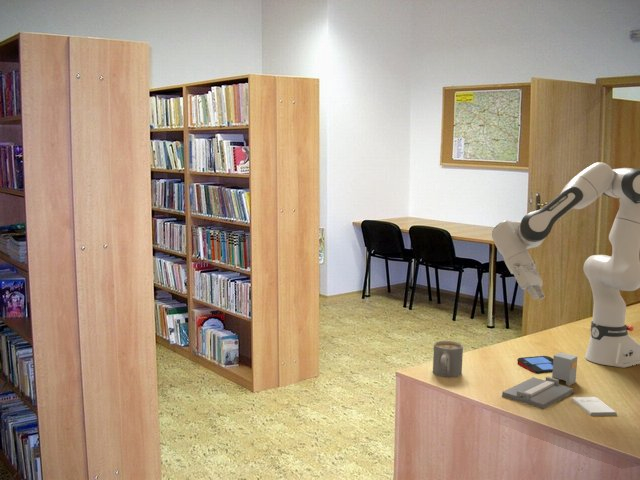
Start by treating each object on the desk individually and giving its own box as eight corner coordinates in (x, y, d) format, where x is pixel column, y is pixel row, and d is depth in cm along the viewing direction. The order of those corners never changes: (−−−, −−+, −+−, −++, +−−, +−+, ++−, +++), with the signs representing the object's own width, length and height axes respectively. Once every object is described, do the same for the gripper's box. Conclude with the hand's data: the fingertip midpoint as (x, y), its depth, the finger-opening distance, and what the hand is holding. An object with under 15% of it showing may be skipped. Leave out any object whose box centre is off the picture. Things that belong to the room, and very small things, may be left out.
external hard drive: (590, 417, 202) (571, 401, 214) (616, 417, 202) (596, 401, 215) (590, 412, 202) (571, 396, 214) (617, 412, 202) (596, 396, 214)
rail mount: (533, 381, 230) (533, 372, 229) (572, 392, 220) (573, 383, 219) (502, 396, 216) (502, 387, 215) (543, 409, 206) (543, 399, 205)
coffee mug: (439, 366, 244) (440, 339, 242) (465, 371, 238) (467, 344, 237) (423, 376, 233) (425, 348, 231) (451, 382, 227) (452, 353, 226)
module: (558, 377, 234) (560, 352, 233) (576, 382, 230) (578, 356, 228) (551, 380, 231) (553, 355, 229) (569, 385, 226) (571, 359, 225)
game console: (535, 375, 237) (535, 369, 237) (514, 363, 249) (514, 357, 249) (569, 371, 242) (570, 365, 241) (547, 360, 254) (547, 354, 253)
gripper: (520, 258, 229) (540, 295, 225) (535, 260, 246) (554, 294, 242) (504, 267, 232) (524, 303, 228) (519, 268, 249) (538, 302, 245)
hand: (539, 298), depth 235 cm, fingers open, 8 cm apart
